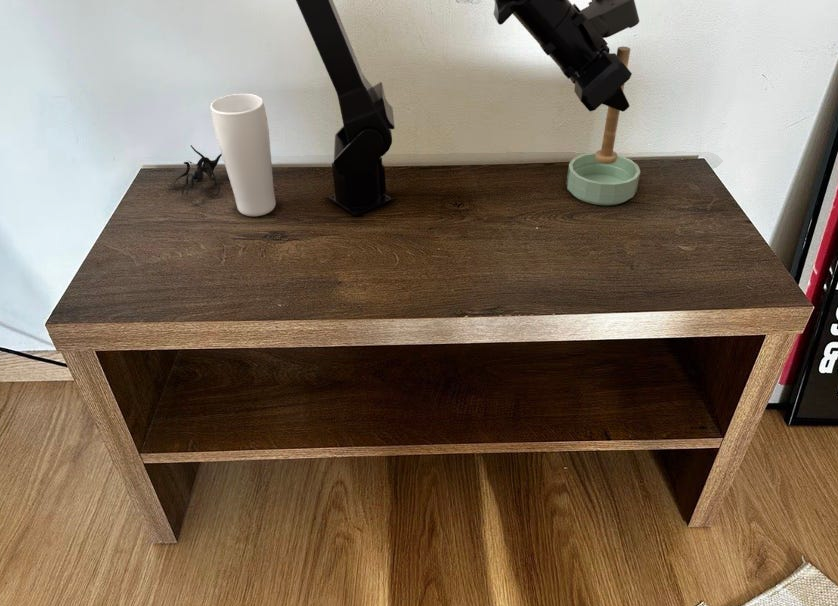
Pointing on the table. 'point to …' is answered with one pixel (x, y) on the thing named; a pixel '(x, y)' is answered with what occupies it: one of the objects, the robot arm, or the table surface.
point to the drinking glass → (245, 151)
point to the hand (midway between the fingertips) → (624, 105)
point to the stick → (612, 121)
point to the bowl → (602, 180)
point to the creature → (200, 171)
